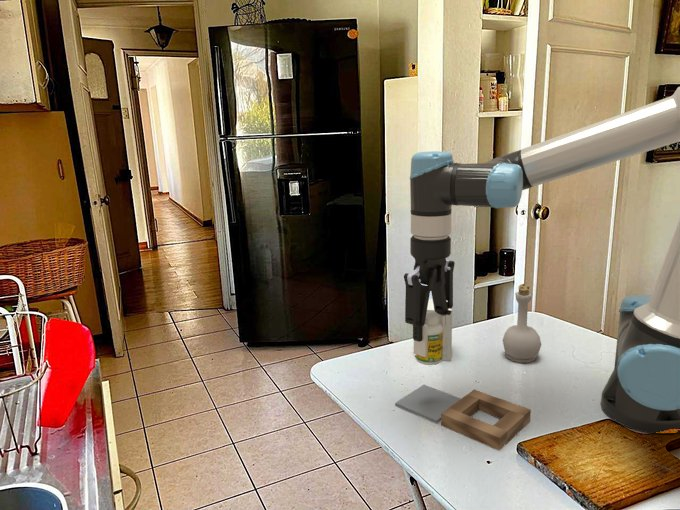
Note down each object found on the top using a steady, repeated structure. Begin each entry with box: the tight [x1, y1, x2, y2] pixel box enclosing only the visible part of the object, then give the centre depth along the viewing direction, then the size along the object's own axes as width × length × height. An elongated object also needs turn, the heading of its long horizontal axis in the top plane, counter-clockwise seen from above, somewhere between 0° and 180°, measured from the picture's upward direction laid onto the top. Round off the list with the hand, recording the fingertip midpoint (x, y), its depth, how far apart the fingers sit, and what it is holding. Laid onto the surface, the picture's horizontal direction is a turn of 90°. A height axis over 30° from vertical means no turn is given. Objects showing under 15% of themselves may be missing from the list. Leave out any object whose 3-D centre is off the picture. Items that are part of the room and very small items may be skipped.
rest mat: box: [394, 384, 462, 424], centre depth 107 cm, size 10×10×1 cm
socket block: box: [440, 389, 532, 451], centre depth 99 cm, size 12×12×2 cm
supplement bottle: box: [415, 312, 443, 366], centre depth 104 cm, size 5×5×10 cm
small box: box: [427, 298, 453, 362], centre depth 128 cm, size 8×6×13 cm
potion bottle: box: [502, 283, 542, 364], centre depth 124 cm, size 9×9×18 cm
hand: (429, 349), depth 104 cm, fingers closed on supplement bottle, 5 cm apart
